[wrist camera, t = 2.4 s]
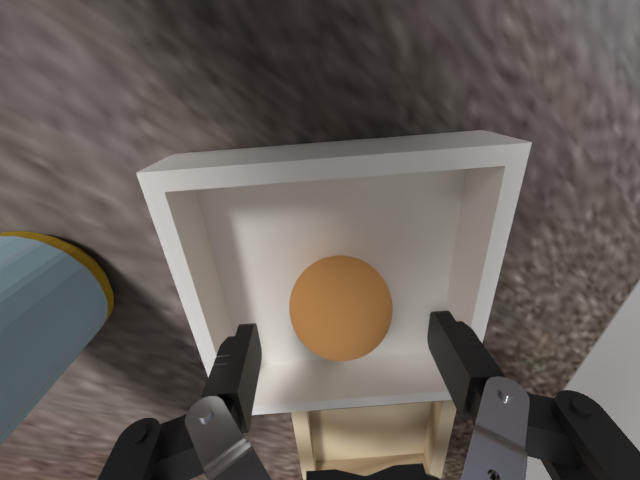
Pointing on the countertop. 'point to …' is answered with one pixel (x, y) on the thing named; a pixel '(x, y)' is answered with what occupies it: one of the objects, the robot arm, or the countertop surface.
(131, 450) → the robot arm
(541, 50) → the countertop surface
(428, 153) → the dish
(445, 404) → the tray
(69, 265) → the bottle
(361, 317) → the ball
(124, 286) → the countertop surface
